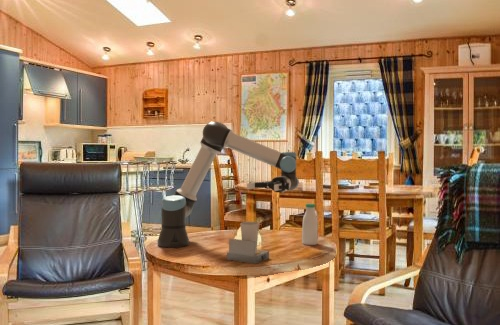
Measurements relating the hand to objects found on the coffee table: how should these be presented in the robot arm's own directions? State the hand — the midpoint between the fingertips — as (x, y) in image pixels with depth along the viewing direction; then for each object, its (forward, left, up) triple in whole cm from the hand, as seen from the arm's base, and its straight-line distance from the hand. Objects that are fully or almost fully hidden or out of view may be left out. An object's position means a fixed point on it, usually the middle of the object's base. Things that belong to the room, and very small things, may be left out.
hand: (260, 187), depth 216 cm
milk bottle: (+11, +33, -30) cm, 46 cm away
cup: (0, -11, -27) cm, 29 cm away
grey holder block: (0, -12, -30) cm, 32 cm away
